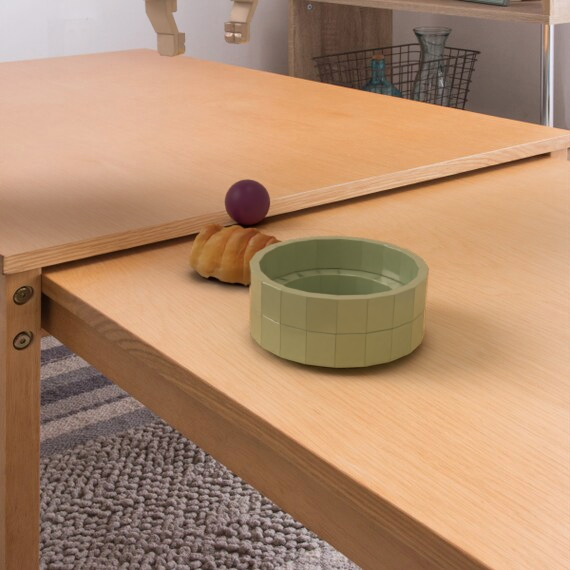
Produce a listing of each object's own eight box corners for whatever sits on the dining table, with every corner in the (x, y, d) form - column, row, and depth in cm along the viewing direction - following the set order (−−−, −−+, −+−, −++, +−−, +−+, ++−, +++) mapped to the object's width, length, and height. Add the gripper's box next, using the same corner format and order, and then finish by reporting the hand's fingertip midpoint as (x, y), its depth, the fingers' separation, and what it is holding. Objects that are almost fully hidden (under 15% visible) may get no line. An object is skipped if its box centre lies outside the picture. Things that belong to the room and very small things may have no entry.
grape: (225, 231, 88) (225, 186, 86) (224, 217, 92) (223, 174, 91) (271, 230, 89) (272, 186, 87) (268, 216, 93) (268, 173, 91)
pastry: (316, 268, 79) (317, 226, 78) (286, 297, 73) (287, 252, 72) (217, 253, 82) (216, 212, 81) (181, 279, 77) (179, 236, 75)
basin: (255, 378, 61) (255, 301, 58) (245, 304, 72) (245, 237, 70) (441, 373, 62) (448, 296, 60) (402, 300, 73) (407, 234, 71)
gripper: (243, -124, 84) (243, 34, 89) (85, -133, 68) (97, 59, 73) (302, -124, 81) (300, 39, 86) (152, -135, 65) (160, 67, 70)
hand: (206, 48), depth 79 cm, fingers open, 8 cm apart
